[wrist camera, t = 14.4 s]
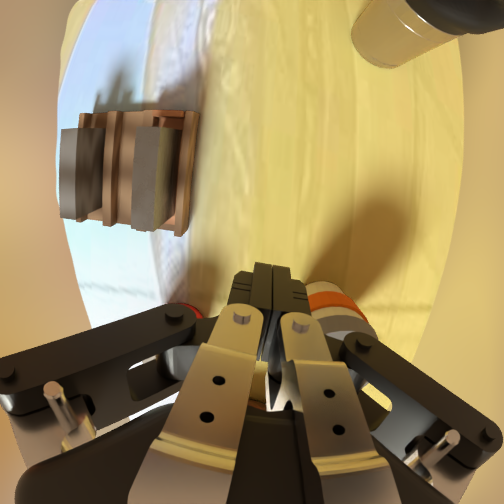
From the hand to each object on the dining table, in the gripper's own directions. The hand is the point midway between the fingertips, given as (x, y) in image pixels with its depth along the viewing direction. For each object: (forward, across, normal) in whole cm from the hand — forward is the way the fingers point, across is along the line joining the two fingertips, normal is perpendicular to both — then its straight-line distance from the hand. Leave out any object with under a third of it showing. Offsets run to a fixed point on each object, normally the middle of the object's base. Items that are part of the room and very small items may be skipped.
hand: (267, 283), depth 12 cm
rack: (+28, +20, 0) cm, 35 cm away
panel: (+27, +14, 0) cm, 30 cm away
